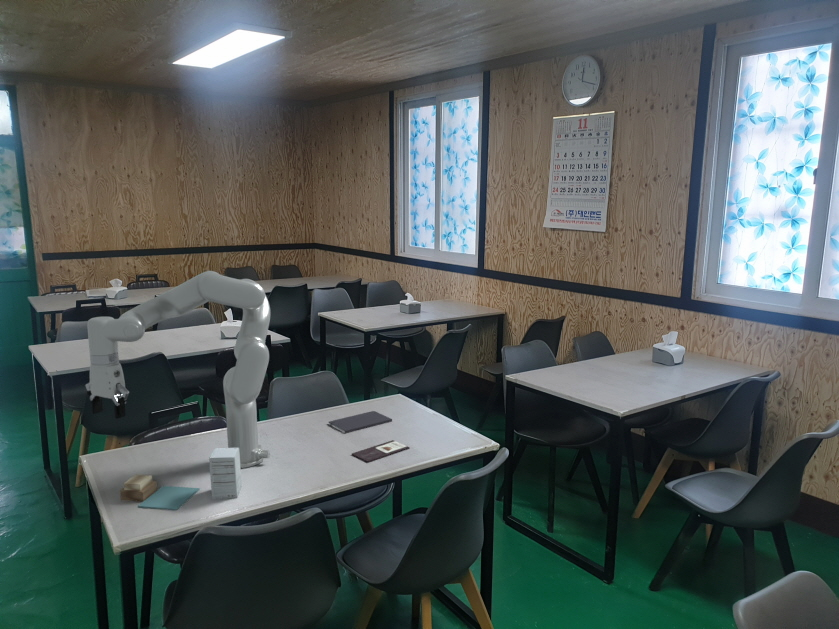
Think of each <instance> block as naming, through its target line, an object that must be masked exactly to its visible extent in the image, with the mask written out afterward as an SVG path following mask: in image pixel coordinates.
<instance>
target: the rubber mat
mask: <svg viewBox="0 0 839 629" xmlns="http://www.w3.org/2000/svg"><path fill="white" fill-rule="evenodd" d="M200 489H201V488H200V487H198V488H197V487H189V486H188V487H186V486H174V485H172V486H171V485H162V486H161V487H160V488H157V491H156V492H155V493H153V494H152V495H151V496H150V497H148V498H147V499H146V500H145V501H143V502H140V503H139V505H137V508H142V509H155V510H156V509H157V510H168V511H178V510H180V508H181V507H182V506H184V505H185V504H186V503H187V501H189V500H190V499H191V498H192V497H193V496H194V495H196V493H198V492H199V491H200Z"/></svg>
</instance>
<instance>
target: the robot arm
mask: <svg viewBox="0 0 839 629" xmlns="http://www.w3.org/2000/svg"><path fill="white" fill-rule="evenodd" d="M208 302H212V303H215V304H219V305H222V306H223V305H224V306H229V307H233V308H238V309H239V308H240V309H242V319H241V320H242V321H241V324H240V328H239V331H238V335H237V339H236V342H235V345H234V348H233V352H234V353H233V354H234V357H235V359H236V362H235V366H233V367H231V368H230V369H228V370H227V372H226V373H225V375H224V376H223V380H222V384H223V386H222V388H223V394H224V402H225V417H226V418H225V419H226V434H227V436H226V437H227V448H239V453H240V469H242V468H243V469H246V468H250V467H254V466H256V465H259V464H260V463H262V462H263V461H264V459H270V456H271V454H270V450H269V449H262V445H261V444H259V436H258V419H257V418H258V417H257V413H258V412H257V400H256V399H257V398H258V396H260V394H261V393H260V392H261V390H262V388H263V383H264V380H265V377H266V373H267V368H268V367H269V361H270V351H269V348H268V346H267V345H266V339H267V335H268V332H269V331H268V330H269V327H270V322H271V321H270V320H271V307H270V302H269V300H268V297H267V295H266V292H265V289H264V288H263V287H262V286H261V285H260V283H258V282H256V281H255V280H252V279H249V278H242V279H239V278H238V279H237V278H234V277H229V276H226V275H223V274H220V273H219V272H216V271H213V270H205V271H204V272H201V273H200V274H198V275H196V276H194V277H192V278H190V279H188V280H186V281H184V282H182V283H181V284H179V285H177V286H175V287H173V288H171V289H170V290H167V291H165V292H163V293H161V294H159V295H157V296H155V297H152V298H151V299H148V300H146V301H144V302H141V304H139V305H137V306H135V307H133V308H131V309H129V310H127V311H126V312H124V313H123V314H121V315H120V316H119V318H114V317H112V316H96V317H92V318H90V319H88V321H87V323H86V325H87V337H88V338H87V340H88V349H89V360H90V361H89V362H90V364H89V365H90V366H89V382H88V383H86V384H85V385H84V386H85V388H86V390H87V394H88V395H87V396H89V400H90V402H91V412H92V414H94V415H95V414H99V413H102V412H103V411H104V407H103V398H104V399H111V400H112V402H113V403H114V404H115V405H114V406H113V407H114V408H113V409H114V418H115V419H117V420H118V419H121V418H123V417H126V414H127V413H126V404H127V401H128V399H129V395H130V391H129V390H128V389H127V388H126V383H125V382H126V381H125V375H124V371H123V367H122V364H121V363H120V360H119V359H120V358H119V348H118V347H119V345H118V343H119V342H120V343H121V342H122V343H134V342H138V341H140V340H141V339H142V338H143V337H144V336H145V335H144V334H145V331H146V330H147V329H148V328H151V327H152V326H154V325H156V324H158V323H161V322H162V321H165V320H169V319H173V318H178V317H182V316H184V315H186V314H188V313H190V312H192V311H193V310H195V309H197V308H199V307H201V306H203V305H204V304H206V303H208ZM118 398H119V399H118Z"/></svg>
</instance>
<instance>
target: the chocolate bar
mask: <svg viewBox="0 0 839 629" xmlns="http://www.w3.org/2000/svg"><path fill="white" fill-rule="evenodd" d="M407 450H410V446H407V445H405V444H403V443H400V442H398V441H396V440H393V439H392V440H389V441H386V442H384V443H381V444H376V445H374V446H370V447H367V448H365V449H364V448H363V449H362V450H358V451H356V452H353V453H351V456H353V457H355V458H356V459H358V460H360V461H363V462H364V463H367V464H370V463H372V462H375V461H378V460H381V459H383V458H387V457H389V456H392V455H395V454H398V453H401V452H405V451H407Z"/></svg>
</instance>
